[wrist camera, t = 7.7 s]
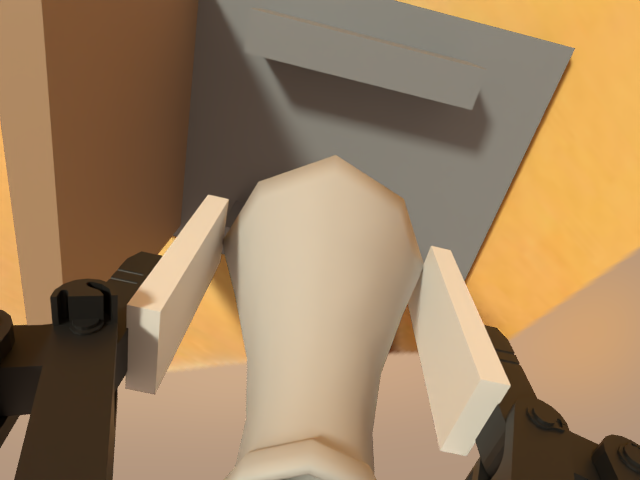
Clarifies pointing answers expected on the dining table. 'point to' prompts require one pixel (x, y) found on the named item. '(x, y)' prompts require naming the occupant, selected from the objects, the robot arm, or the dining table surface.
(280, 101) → the shaker holder
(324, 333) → the flask
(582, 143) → the dining table surface
